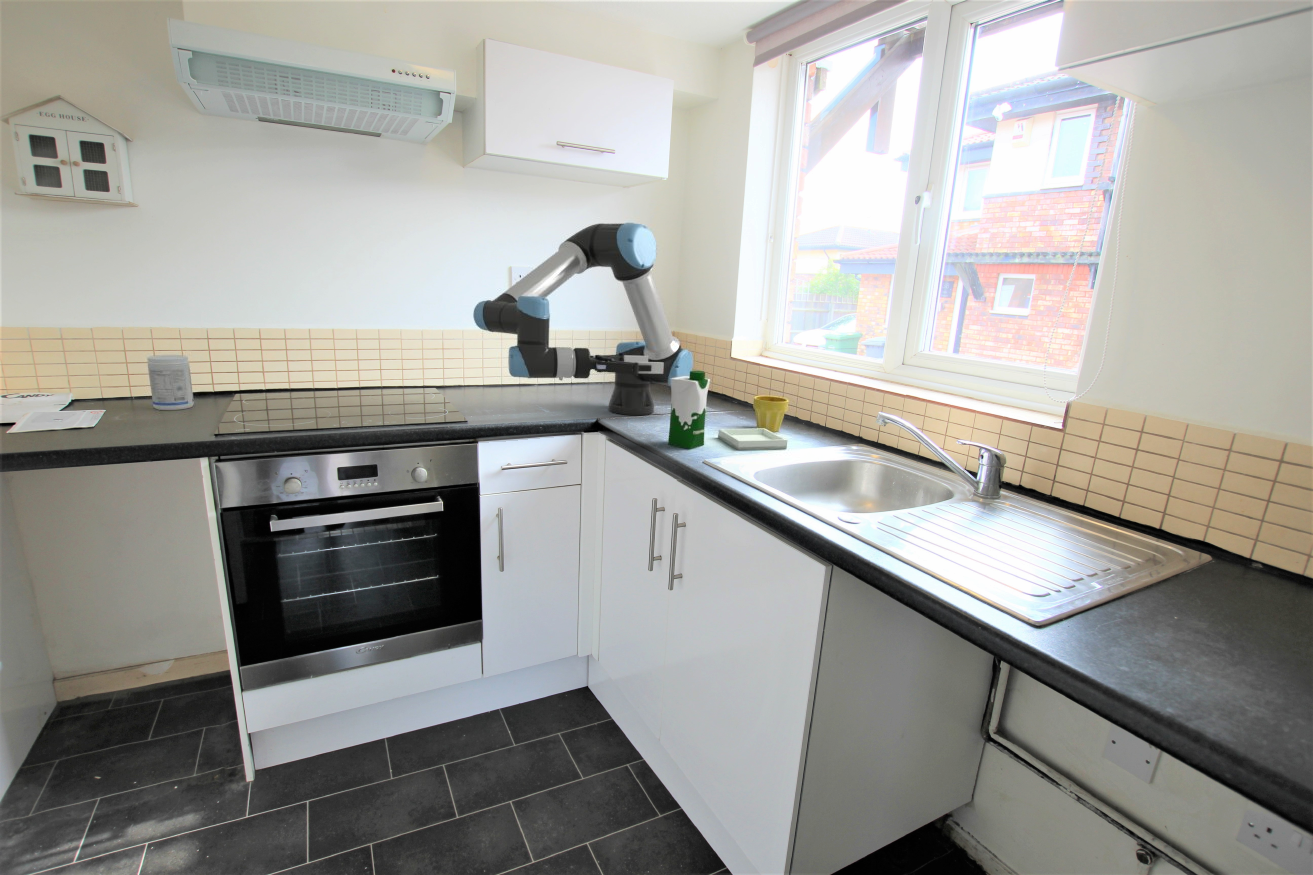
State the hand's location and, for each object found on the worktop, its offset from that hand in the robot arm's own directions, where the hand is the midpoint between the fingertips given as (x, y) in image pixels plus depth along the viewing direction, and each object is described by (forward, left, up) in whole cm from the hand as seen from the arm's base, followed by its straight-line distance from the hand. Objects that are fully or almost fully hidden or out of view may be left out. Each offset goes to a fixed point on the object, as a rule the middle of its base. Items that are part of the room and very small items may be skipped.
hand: (655, 364), depth 167 cm
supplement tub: (-34, -134, -22) cm, 140 cm away
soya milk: (-2, +10, -22) cm, 24 cm away
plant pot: (-23, +39, -22) cm, 50 cm away
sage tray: (-5, +29, -21) cm, 36 cm away
